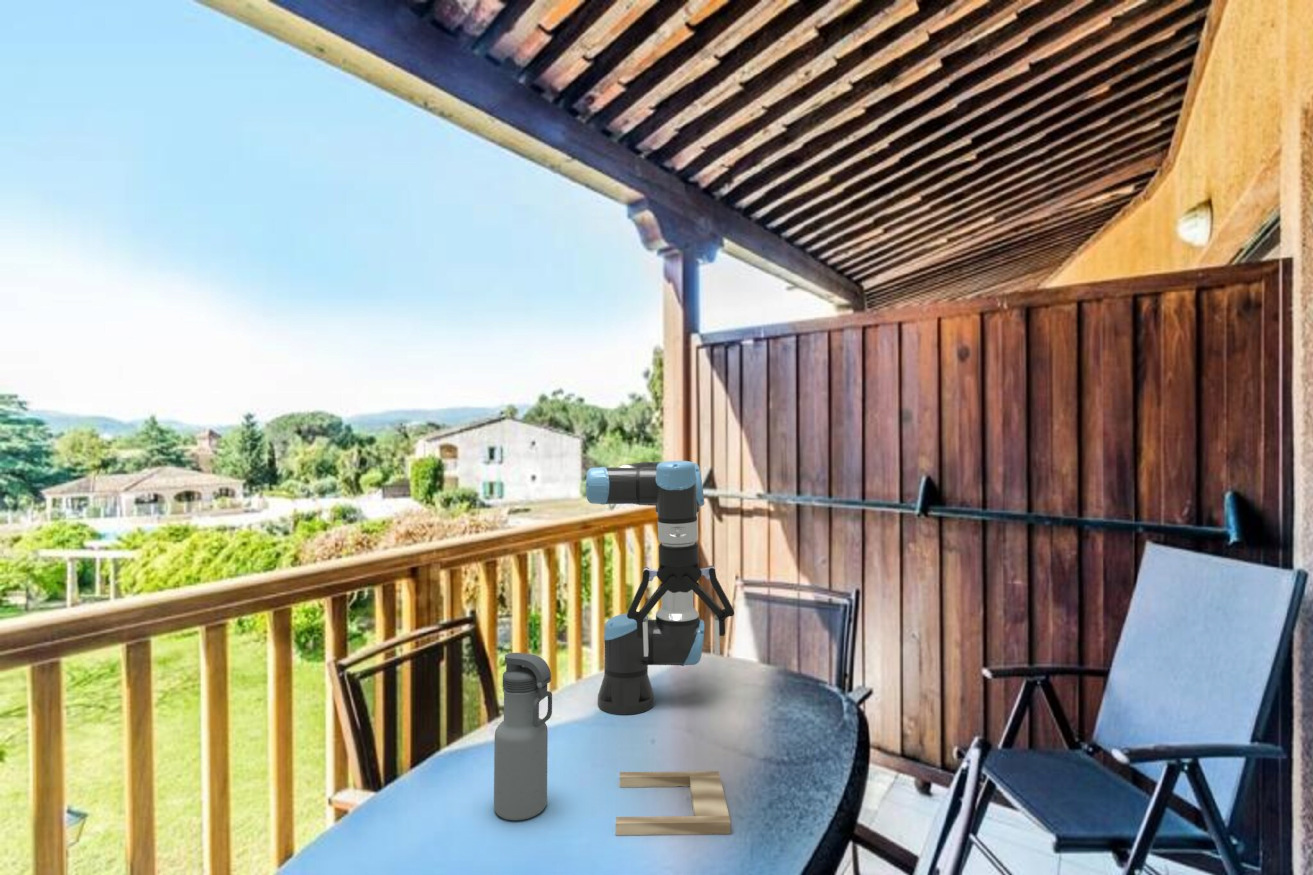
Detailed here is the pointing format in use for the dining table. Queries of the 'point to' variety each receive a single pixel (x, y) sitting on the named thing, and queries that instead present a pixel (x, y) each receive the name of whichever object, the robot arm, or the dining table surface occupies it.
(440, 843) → the dining table surface
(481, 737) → the dining table surface
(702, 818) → the oak cut-out board
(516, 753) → the water bottle
